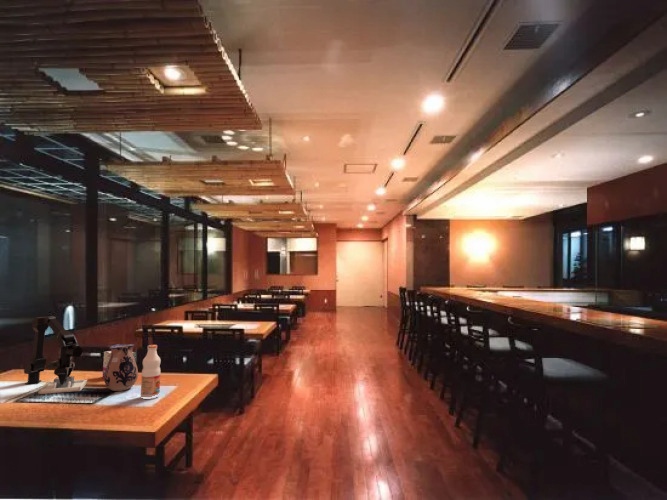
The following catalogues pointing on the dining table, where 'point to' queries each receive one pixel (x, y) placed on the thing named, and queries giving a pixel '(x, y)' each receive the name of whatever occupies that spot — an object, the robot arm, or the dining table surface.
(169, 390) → the dining table surface
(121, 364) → the ceramic pitcher
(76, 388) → the tray
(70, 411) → the dining table surface
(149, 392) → the fruit juice
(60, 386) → the grey rectangular block
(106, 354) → the candy bar box
